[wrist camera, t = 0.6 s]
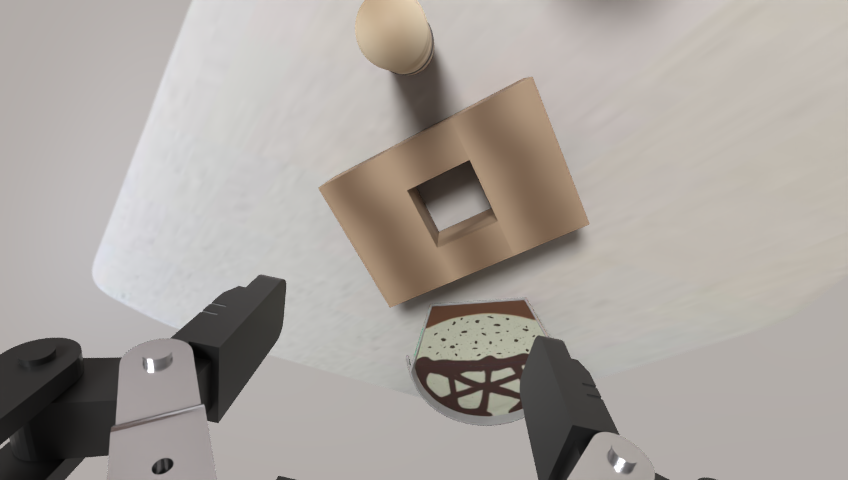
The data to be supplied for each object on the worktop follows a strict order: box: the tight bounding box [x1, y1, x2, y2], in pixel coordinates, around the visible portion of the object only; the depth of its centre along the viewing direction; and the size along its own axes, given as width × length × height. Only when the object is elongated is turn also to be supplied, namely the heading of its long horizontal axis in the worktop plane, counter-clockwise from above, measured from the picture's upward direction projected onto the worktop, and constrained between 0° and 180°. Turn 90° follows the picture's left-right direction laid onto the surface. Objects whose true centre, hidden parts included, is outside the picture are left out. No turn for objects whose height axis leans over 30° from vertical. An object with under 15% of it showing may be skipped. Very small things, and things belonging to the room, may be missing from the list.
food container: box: [406, 297, 549, 426], centre depth 35 cm, size 12×6×10 cm, turn 97°
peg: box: [355, 0, 434, 75], centre depth 26 cm, size 4×4×10 cm
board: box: [319, 77, 589, 307], centre depth 33 cm, size 18×12×4 cm, turn 117°
